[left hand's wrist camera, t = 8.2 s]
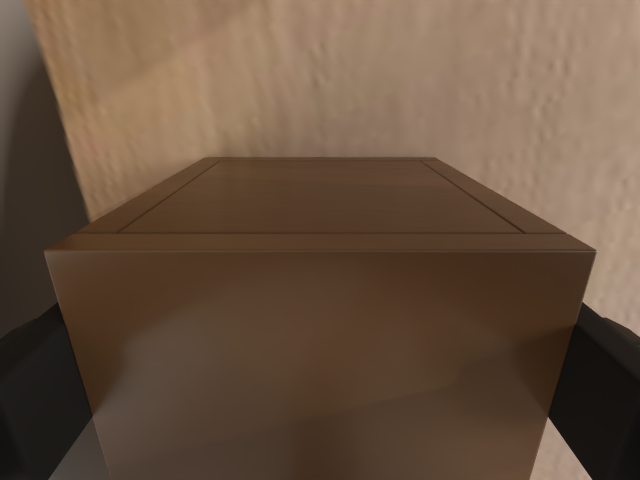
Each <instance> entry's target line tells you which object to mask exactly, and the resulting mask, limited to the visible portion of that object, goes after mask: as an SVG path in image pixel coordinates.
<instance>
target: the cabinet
mask: <svg viewBox="0 0 640 480" xmlns="http://www.w3.org/2000/svg"><path fill="white" fill-rule="evenodd" d="M596 254H597V251H596V250H595V249H594V248H592V247H590V246H588V245H587V244H585V243H583V242H581V241H580V240H578V239H576V238H575V237H573V236H571V235H569V234H567V233H566V232H564V231H562V230H560V229H559V228H557V227H555V226H553V225H552V224H550V223H548V222H547V221H545V220H543V219H541V218H540V217H538V216H536V215H534V214H533V213H531V212H529V211H527V210H526V209H524V208H522V207H520V206H519V205H517V204H515V203H513V202H512V201H510V200H508V199H506V198H505V197H503V196H501V195H500V194H498V193H496V192H494V191H493V190H491V189H489V188H487V187H486V186H484V185H482V184H480V183H479V182H477V181H475V180H473V179H472V178H470V177H468V176H466V175H465V174H463V173H461V172H459V171H458V170H456V169H454V168H453V167H451V166H449V165H447V164H446V163H444V162H442V161H440V160H438V159H437V158H204V159H202V160H200V161H198V162H196V163H195V164H193V165H191V166H189V167H188V168H186V169H184V170H182V171H181V172H179V173H177V174H176V175H174V176H172V177H170V178H169V179H167V180H165V181H163V182H162V183H160V184H158V185H156V186H155V187H153V188H151V189H149V190H148V191H146V192H144V193H143V194H141V195H139V196H137V197H136V198H134V199H132V200H130V201H129V202H127V203H125V204H123V205H122V206H120V207H118V208H116V209H115V210H113V211H111V212H110V213H108V214H106V215H104V216H103V217H101V218H99V219H97V220H96V221H94V222H92V223H90V224H89V225H87V226H85V227H84V228H82V229H80V230H78V231H77V232H75V233H74V234H71V235H70V236H68V237H66V238H64V239H63V240H61V241H59V242H57V243H56V244H54V245H52V246H50V247H49V248H47V249H45V250H44V256H45V259H46V263H47V266H48V269H49V273H50V276H51V279H52V283H53V286H54V290H55V293H56V296H57V300H58V303H59V306H60V310H61V313H62V316H63V320H64V323H65V327H66V330H67V333H68V337H69V340H70V343H71V347H72V350H73V354H74V357H75V360H76V364H77V367H78V370H79V374H80V377H81V380H82V384H83V387H84V391H85V394H86V397H87V401H88V404H89V407H90V411H91V414H92V418H93V421H94V424H95V428H96V431H97V434H98V438H99V441H100V444H101V448H102V451H103V455H104V458H105V461H106V465H107V468H108V471H109V475H110V478H111V480H529V479H530V476H531V472H532V469H533V466H534V462H535V459H536V456H537V452H538V449H539V445H540V442H541V439H542V435H543V432H544V429H545V425H546V422H547V419H548V415H549V412H550V408H551V405H552V402H553V398H554V395H555V392H556V388H557V385H558V382H559V378H560V375H561V371H562V368H563V365H564V361H565V358H566V355H567V351H568V348H569V344H570V341H571V338H572V334H573V331H574V328H575V324H576V321H577V318H578V314H579V311H580V307H581V304H582V301H583V297H584V294H585V291H586V287H587V284H588V280H589V277H590V274H591V270H592V267H593V264H594V260H595V257H596Z"/></svg>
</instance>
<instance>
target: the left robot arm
mask: <svg viewBox="0 0 640 480" xmlns="http://www.w3.org/2000/svg"><path fill="white" fill-rule="evenodd" d="M548 417H549V419H550V420H551V421H552V423H553V424H554V426H555V427H556V429H557V430H558V431H559V433H560V434H561V436H562V437H563V439H564V440H565V441H566V443H567V444H568V446H569V447H570V449H571V450H572V451H573V453H574V454H575V456H576V457H577V458H578V460H579V461H580V463H581V464H582V466H583V467H584V468H585V470H586V471H587V473H588V474H589V476H590V477H591V478H592V480H640V337H639V336H637V335H636V334H635V333H633V332H632V331H631V330H630V329H628V328H626V327H624V326H622V325H620V324H618V323H616V322H614V321H612V320H610V319H608V318H602V317H601V316H599V315H598V314H597V313H596V312H594V311H593V310H592V309H591V308H589V307H588V306H587V305H586V304H584V303H583V302H582V304H581V307H580V311H579V314H578V318H577V321H576V324H575V328H574V331H573V334H572V338H571V341H570V344H569V348H568V351H567V355H566V358H565V361H564V365H563V368H562V371H561V375H560V378H559V382H558V385H557V388H556V392H555V395H554V398H553V402H552V405H551V408H550V412H549V415H548ZM91 418H92V414H91V411H90V407H89V404H88V401H87V397H86V394H85V391H84V387H83V384H82V380H81V377H80V374H79V370H78V367H77V364H76V360H75V357H74V354H73V350H72V347H71V343H70V340H69V337H68V333H67V330H66V327H65V323H64V320H63V316H62V313H61V310H60V306H59V303H58V302H57V303H56V304H55V305H54V306H52V307H51V308H50V309H49V310H47V311H46V312H45V313H44V314H42V315H41V316H40V317H39V318H37V319H34V320H32V321H30V322H28V323H26V324H24V325H22V326H20V327H18V328H16V329H14V330H12V331H11V332H9V333H8V334H7V335H5V336H4V337H3V338H2V339H0V480H48V479H49V478H50V476H51V475H52V473H53V472H54V470H55V469H56V468H57V466H58V465H59V463H60V462H61V461H62V459H63V458H64V456H65V455H66V453H67V452H68V451H69V449H70V448H71V446H72V445H73V443H74V442H75V441H76V439H77V438H78V436H79V435H80V433H81V432H82V430H83V429H84V428H85V426H86V425H87V423H88V422H89V420H90V419H91Z"/></svg>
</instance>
